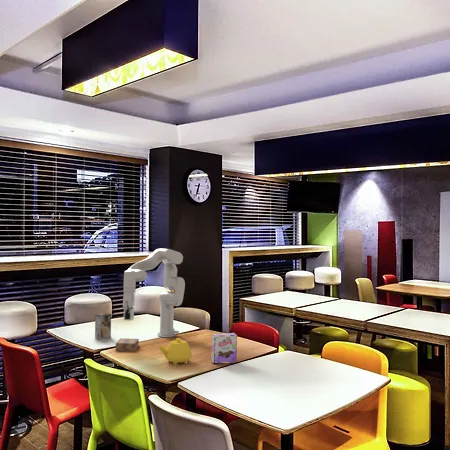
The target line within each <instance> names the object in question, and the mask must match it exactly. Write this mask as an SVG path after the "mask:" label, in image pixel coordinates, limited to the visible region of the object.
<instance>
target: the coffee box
mask: <svg viewBox="0 0 450 450" xmlns="http://www.w3.org/2000/svg"><path fill="white" fill-rule="evenodd" d="M94 316H95V317H94V321H95V324H94V338H95V339H97V340H98V339H99V340H102V339H106V338H111V336H112V313H108V312H106V313H104V312H103V313H98V314H95V315H94Z"/></svg>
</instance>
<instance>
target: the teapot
mask: <svg viewBox="0 0 450 450" xmlns="http://www.w3.org/2000/svg"><path fill="white" fill-rule="evenodd" d="M158 349H159V351H160V352H161V353H162V354H163V355H164V357H165V359H166V360H167V361H170V362H169V363H172V365H173V364H179V363H183V362H184V363H186V362H188V361H190V359H191V358H192V356H193V355H192V353H193V351H192V349H191V347H190V345H189V343H188V342H187V341H186V340H184V339H182V338H179V337H177V338H175V340H171V341H170V342H169V343H168V345H167V347H166V348H165V347H164V345H160V346H159V347H158ZM184 363H183V364H184Z"/></svg>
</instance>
